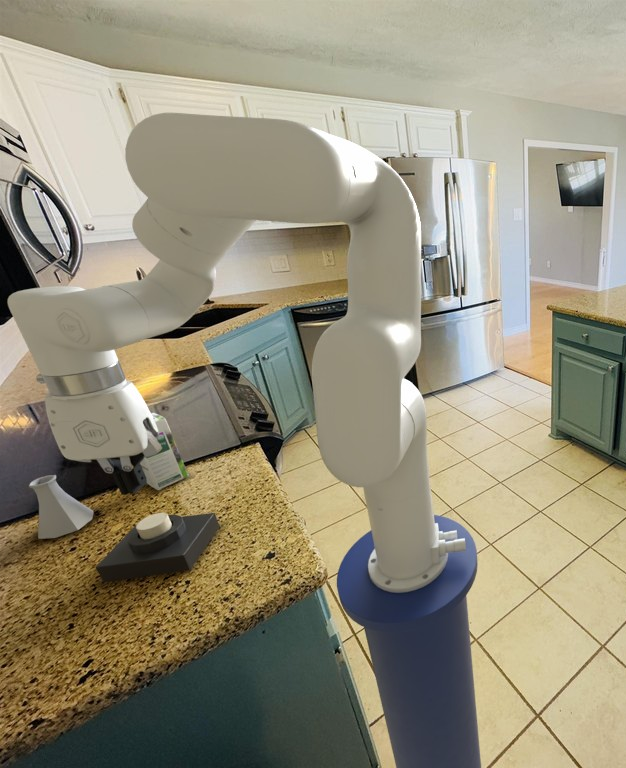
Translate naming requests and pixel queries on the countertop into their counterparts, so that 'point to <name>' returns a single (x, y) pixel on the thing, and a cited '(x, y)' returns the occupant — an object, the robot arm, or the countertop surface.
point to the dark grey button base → (160, 549)
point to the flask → (58, 509)
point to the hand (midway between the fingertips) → (135, 488)
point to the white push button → (153, 526)
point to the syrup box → (164, 459)
